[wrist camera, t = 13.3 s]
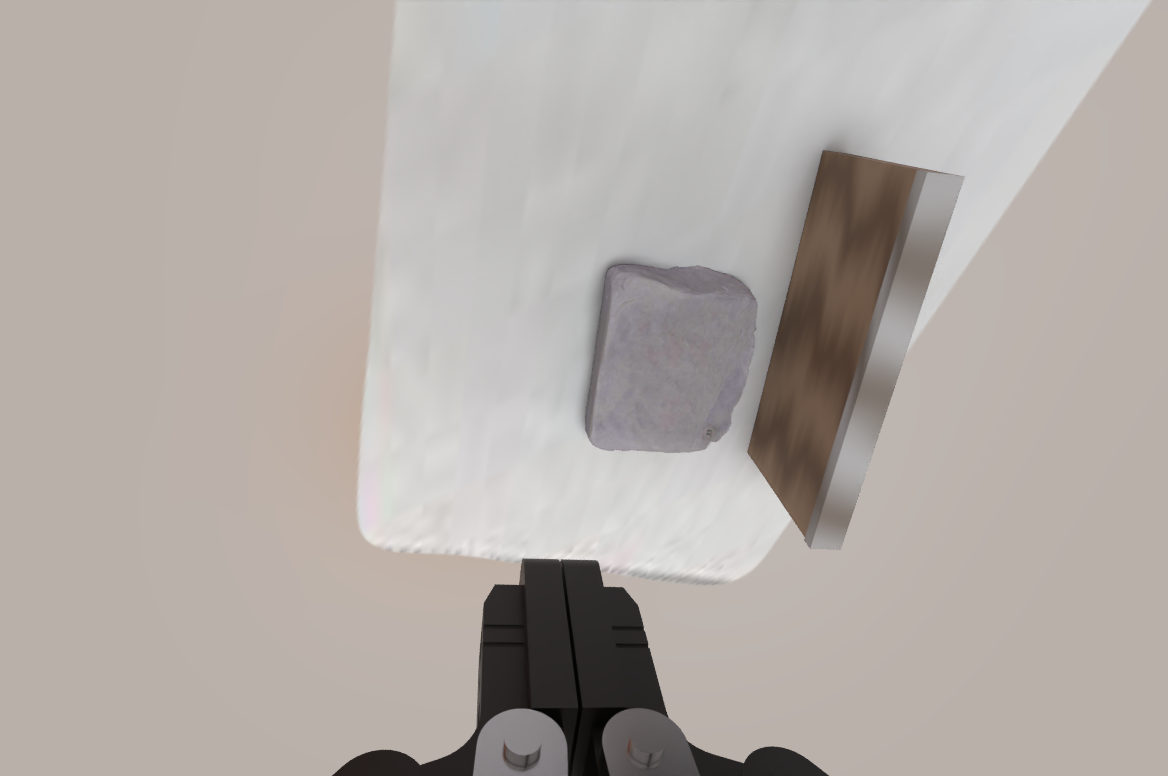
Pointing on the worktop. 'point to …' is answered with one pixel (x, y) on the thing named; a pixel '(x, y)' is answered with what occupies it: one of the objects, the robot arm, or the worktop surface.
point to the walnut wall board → (846, 333)
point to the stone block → (669, 358)
